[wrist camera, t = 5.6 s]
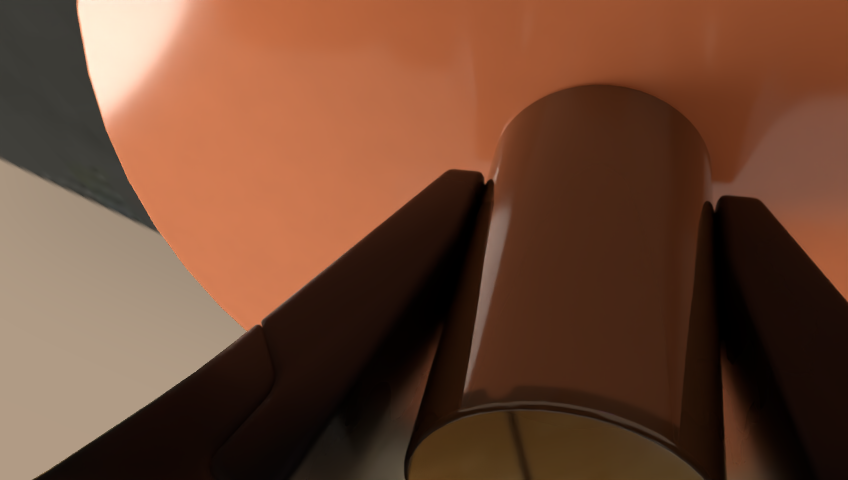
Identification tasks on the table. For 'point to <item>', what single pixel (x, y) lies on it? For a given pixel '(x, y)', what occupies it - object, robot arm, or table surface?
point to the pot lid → (497, 189)
